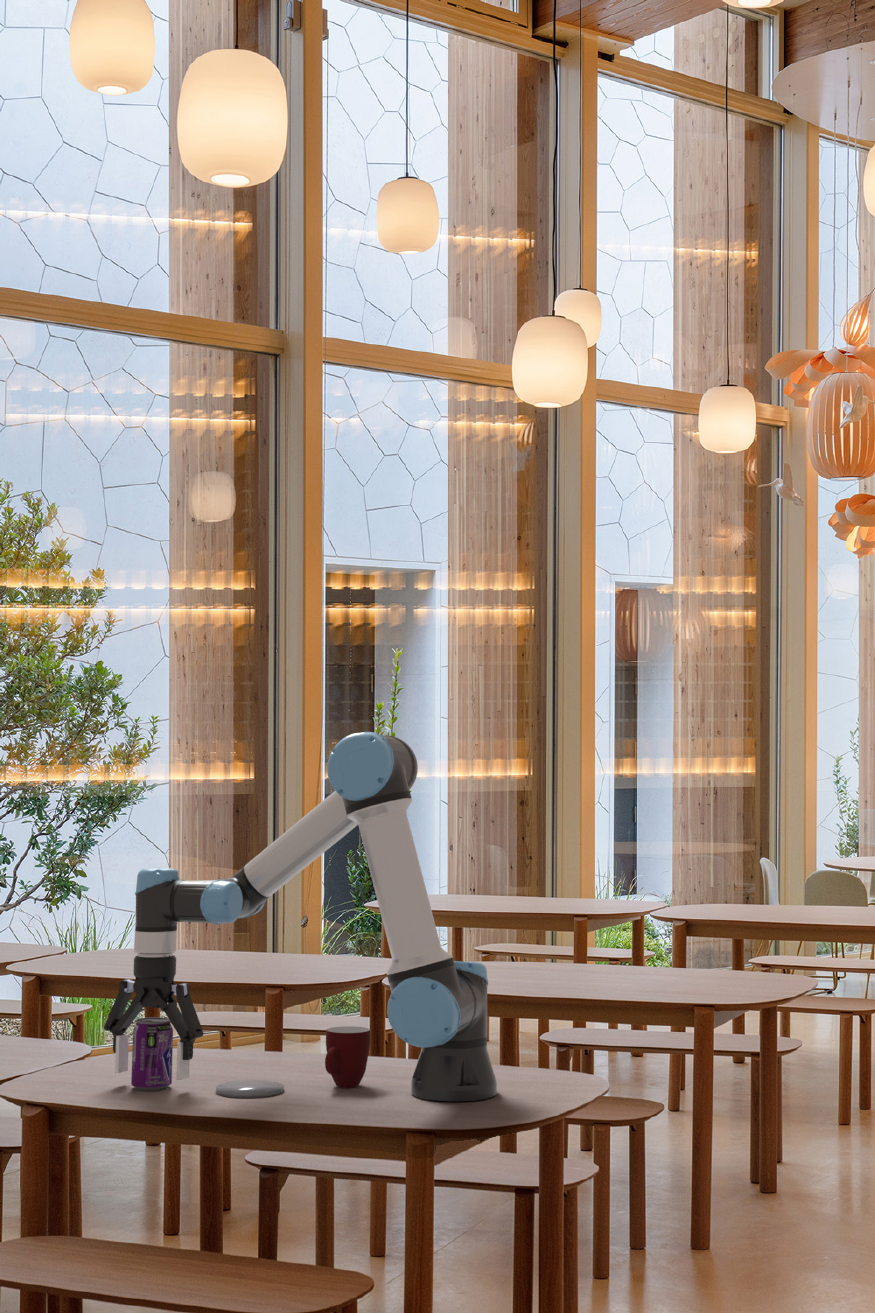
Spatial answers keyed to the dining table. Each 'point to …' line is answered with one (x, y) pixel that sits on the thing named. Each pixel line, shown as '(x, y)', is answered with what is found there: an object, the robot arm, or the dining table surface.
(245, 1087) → the coaster
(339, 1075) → the mug
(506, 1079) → the dining table surface
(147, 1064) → the beverage can
